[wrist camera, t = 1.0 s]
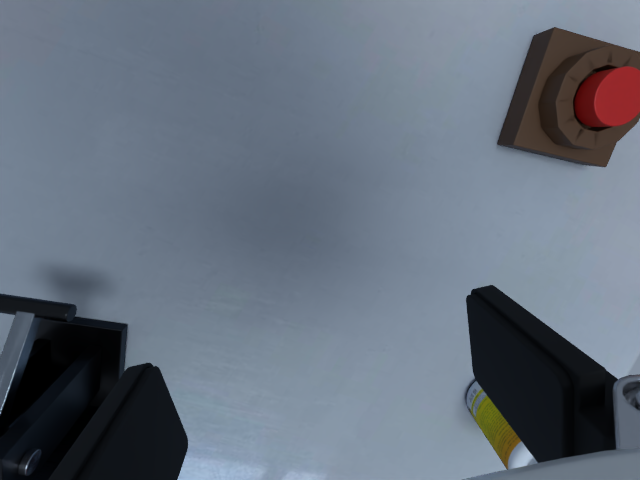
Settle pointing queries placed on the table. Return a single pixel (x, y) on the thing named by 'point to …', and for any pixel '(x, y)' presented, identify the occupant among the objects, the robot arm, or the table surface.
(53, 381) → the lever bracket
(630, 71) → the red button
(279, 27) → the table surface
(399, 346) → the table surface
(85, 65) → the table surface
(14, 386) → the toaster lever
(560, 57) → the button block
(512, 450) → the supplement bottle
